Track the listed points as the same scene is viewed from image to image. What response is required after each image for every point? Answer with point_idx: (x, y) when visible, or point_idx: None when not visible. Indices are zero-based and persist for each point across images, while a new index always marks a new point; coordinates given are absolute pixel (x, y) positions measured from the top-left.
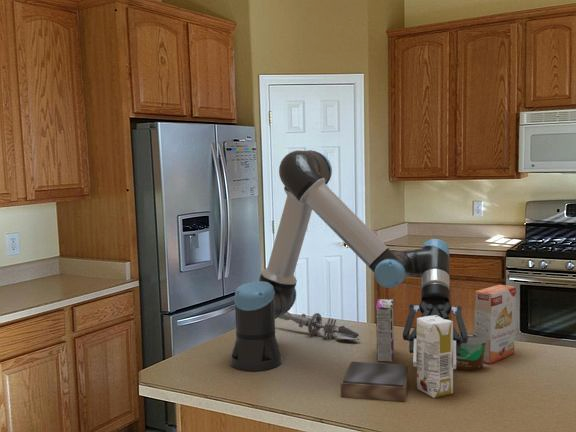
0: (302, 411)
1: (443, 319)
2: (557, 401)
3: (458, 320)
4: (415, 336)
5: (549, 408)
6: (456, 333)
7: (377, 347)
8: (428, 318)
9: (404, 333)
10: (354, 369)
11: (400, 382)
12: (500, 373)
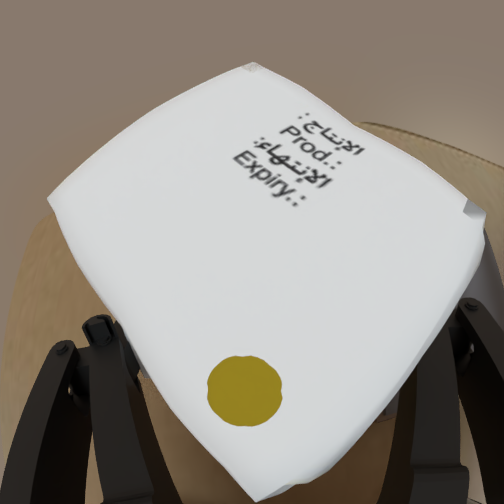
0: (463, 157)
1: (123, 264)
2: (18, 328)
3: (36, 458)
4: None
5: (33, 290)
6: (97, 370)
7: (472, 500)
8: (361, 214)
9: (474, 302)
10: (495, 298)
11: None
12: (102, 496)
